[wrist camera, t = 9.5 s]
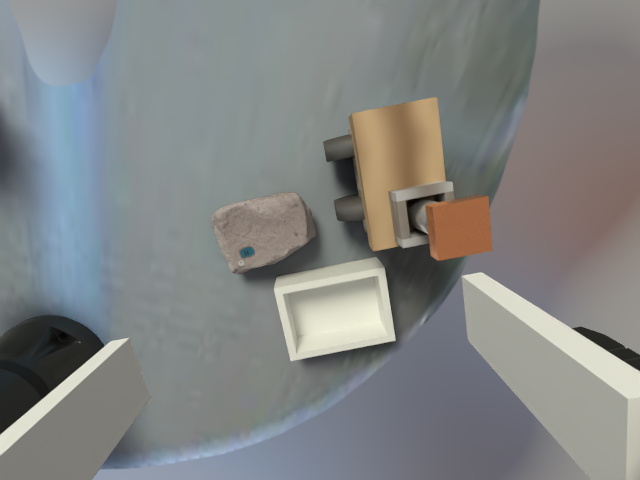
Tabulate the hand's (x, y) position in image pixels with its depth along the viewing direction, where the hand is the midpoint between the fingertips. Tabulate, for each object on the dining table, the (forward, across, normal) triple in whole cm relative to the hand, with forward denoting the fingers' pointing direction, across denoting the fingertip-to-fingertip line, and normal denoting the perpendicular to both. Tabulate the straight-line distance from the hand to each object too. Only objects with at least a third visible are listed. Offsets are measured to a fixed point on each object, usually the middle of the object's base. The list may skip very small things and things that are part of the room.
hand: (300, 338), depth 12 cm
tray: (+34, +1, -14) cm, 37 cm away
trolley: (+34, +9, +3) cm, 36 cm away
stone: (+34, -7, 0) cm, 35 cm away
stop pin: (+24, +12, -1) cm, 27 cm away
